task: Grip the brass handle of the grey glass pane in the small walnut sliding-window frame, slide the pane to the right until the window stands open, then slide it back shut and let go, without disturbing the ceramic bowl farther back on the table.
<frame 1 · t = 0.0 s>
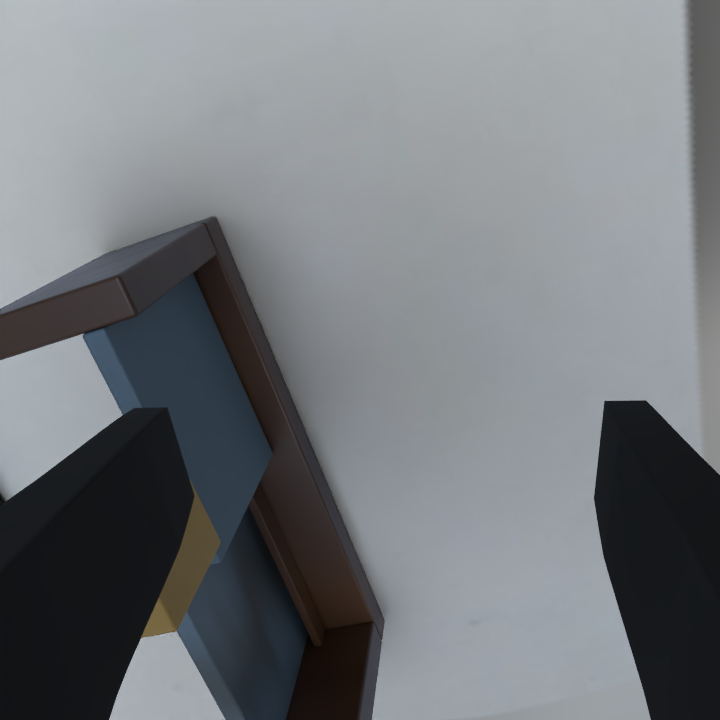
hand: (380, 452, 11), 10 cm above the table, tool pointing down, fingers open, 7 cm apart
window frame: (257, 454, 24), on the table
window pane: (174, 432, 17), point 5 cm above the table, slide at 0.0 cm, touching window frame
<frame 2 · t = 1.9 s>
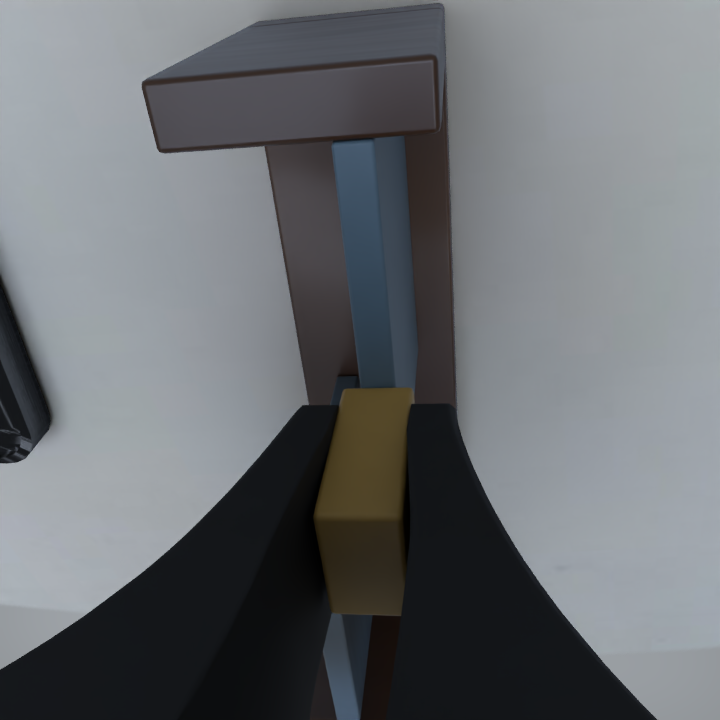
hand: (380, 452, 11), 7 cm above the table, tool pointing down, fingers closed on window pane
window frame: (380, 341, 19), on the table
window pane: (380, 314, 12), point 5 cm above the table, slide at 0.0 cm, touching gripper
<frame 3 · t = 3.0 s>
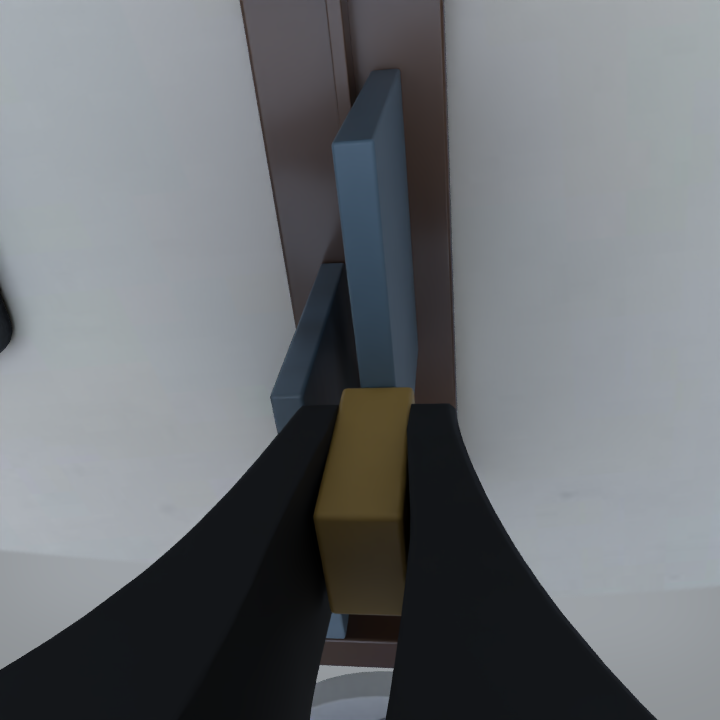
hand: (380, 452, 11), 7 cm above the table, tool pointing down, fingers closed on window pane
window frame: (369, 228, 17), on the table
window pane: (380, 313, 12), point 5 cm above the table, slide at 3.2 cm, touching gripper
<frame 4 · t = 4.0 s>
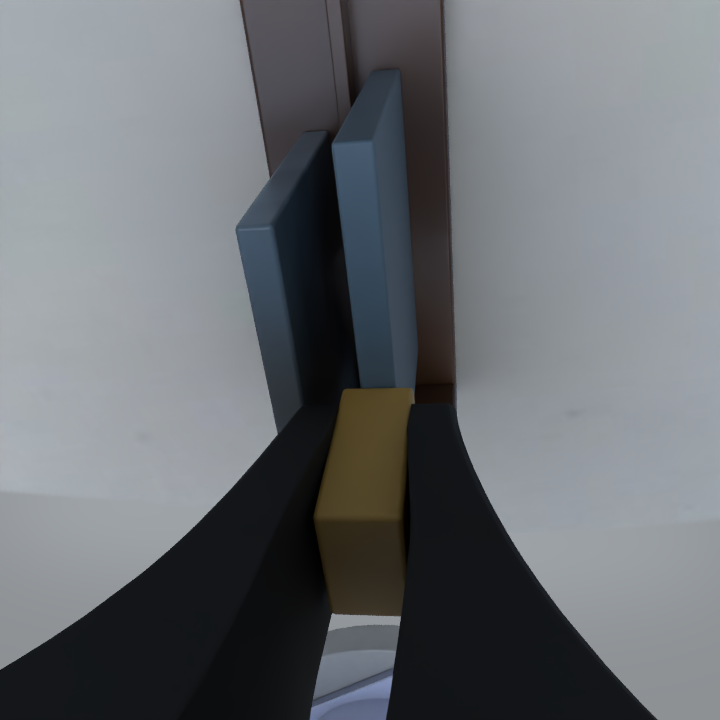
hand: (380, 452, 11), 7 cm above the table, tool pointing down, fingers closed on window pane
window frame: (356, 97, 15), on the table
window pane: (380, 314, 12), point 5 cm above the table, slide at 6.3 cm, touching gripper
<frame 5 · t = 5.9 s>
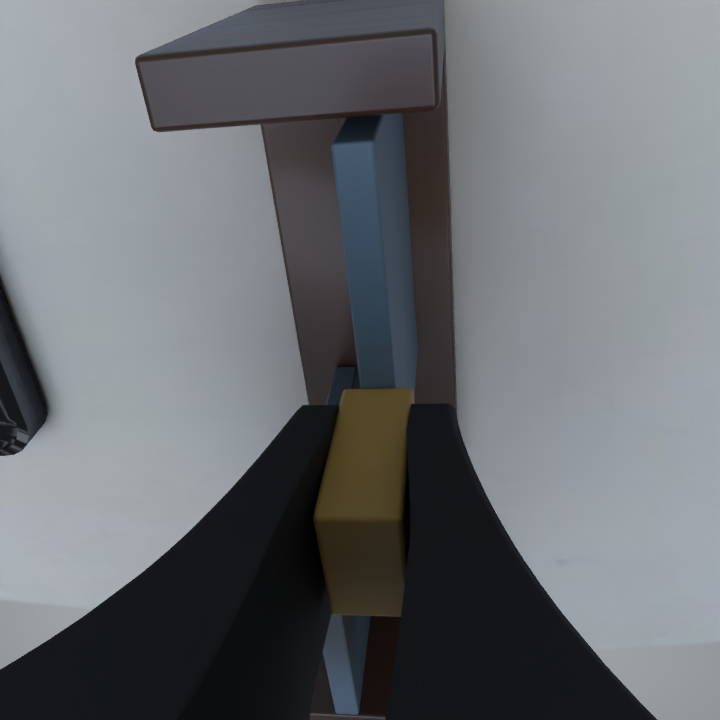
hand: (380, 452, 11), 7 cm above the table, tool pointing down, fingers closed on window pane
window frame: (379, 332, 18), on the table
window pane: (380, 314, 12), point 5 cm above the table, slide at 0.3 cm, touching gripper
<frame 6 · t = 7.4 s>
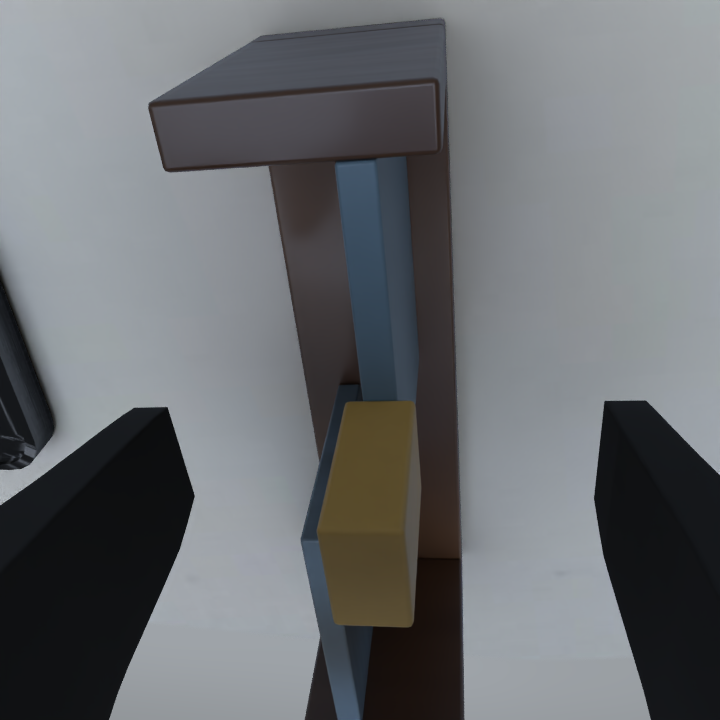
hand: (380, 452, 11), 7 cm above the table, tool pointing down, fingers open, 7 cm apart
window frame: (381, 350, 19), on the table
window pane: (382, 327, 12), point 5 cm above the table, slide at 0.0 cm, touching window frame
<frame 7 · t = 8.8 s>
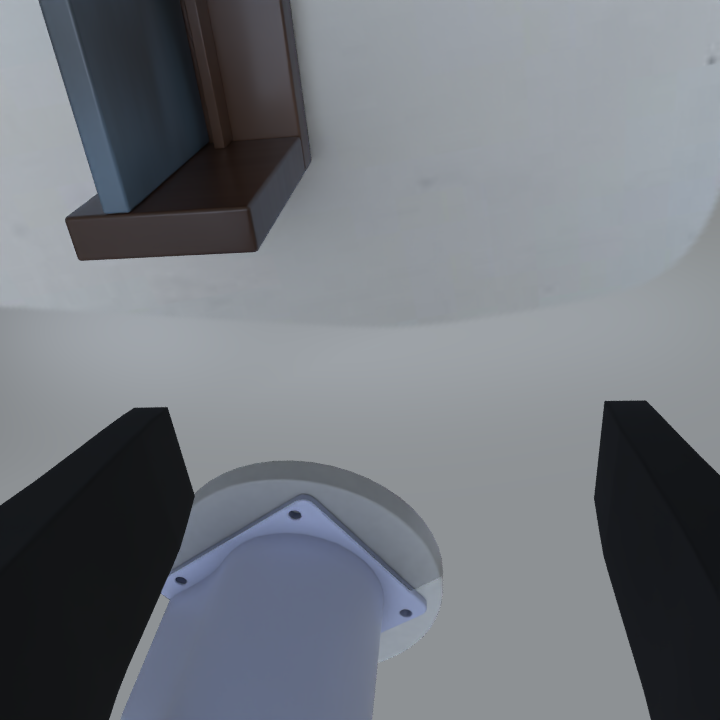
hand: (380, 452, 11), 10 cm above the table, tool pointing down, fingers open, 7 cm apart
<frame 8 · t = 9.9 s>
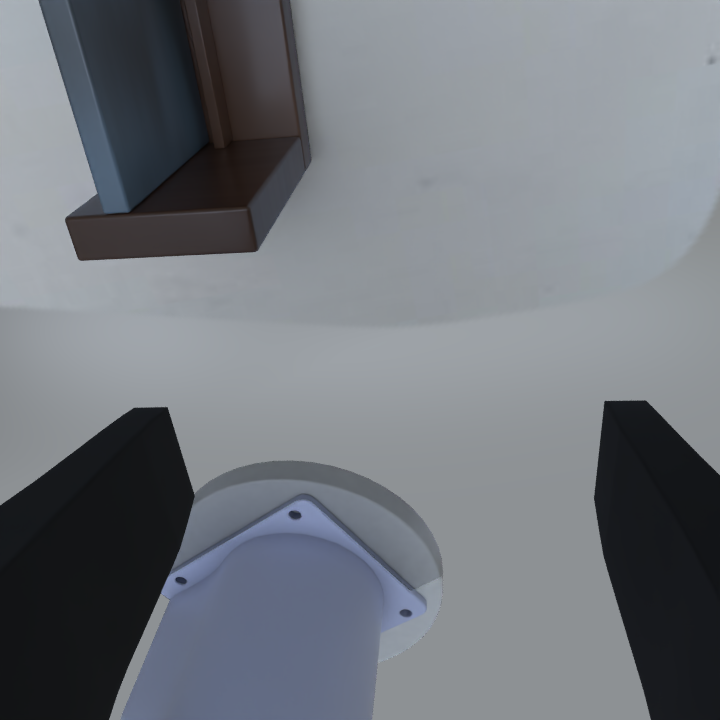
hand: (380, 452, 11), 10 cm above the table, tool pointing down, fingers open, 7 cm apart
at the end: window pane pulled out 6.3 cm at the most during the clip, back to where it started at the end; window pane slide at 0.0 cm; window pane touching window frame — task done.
